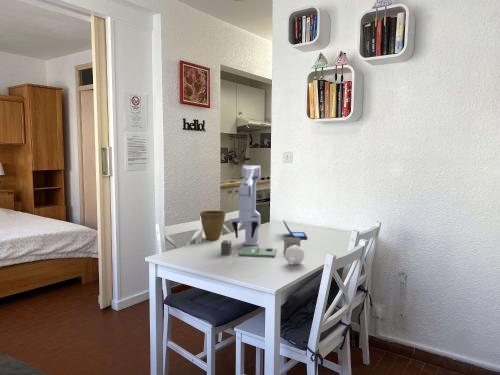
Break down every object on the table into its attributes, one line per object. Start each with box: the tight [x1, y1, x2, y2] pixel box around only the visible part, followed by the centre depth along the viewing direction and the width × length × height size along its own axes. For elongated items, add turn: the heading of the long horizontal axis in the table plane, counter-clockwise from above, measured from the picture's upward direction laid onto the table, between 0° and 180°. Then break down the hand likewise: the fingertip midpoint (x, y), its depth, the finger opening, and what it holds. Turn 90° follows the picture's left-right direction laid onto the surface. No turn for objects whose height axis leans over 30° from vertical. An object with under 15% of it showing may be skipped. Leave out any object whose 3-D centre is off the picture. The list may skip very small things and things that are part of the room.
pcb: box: [238, 245, 277, 258], centre depth 196 cm, size 12×18×4 cm, turn 82°
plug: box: [220, 240, 232, 256], centre depth 195 cm, size 6×4×6 cm, turn 172°
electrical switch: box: [283, 236, 302, 254], centre depth 196 cm, size 8×5×8 cm, turn 78°
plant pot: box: [199, 210, 226, 241], centre depth 226 cm, size 15×15×16 cm
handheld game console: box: [282, 219, 308, 240], centre depth 233 cm, size 16×13×9 cm
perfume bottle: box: [284, 245, 305, 266], centre depth 176 cm, size 9×9×12 cm
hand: (244, 237), depth 188 cm, fingers open, 7 cm apart
